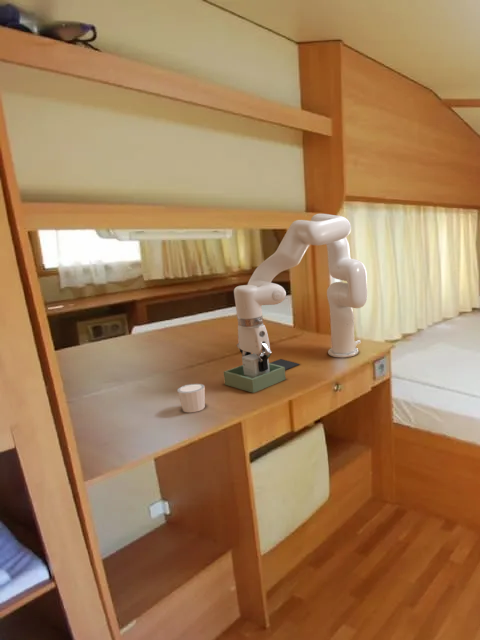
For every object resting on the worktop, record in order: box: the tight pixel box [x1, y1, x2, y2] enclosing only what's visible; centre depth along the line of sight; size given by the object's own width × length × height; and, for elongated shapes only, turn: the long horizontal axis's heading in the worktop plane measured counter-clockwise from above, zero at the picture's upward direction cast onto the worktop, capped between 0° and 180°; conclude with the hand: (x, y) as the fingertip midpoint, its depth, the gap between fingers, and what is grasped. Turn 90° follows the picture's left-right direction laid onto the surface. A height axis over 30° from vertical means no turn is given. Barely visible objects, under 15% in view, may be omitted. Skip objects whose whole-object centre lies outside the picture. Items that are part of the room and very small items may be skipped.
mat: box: [270, 358, 300, 371], centre depth 168 cm, size 10×10×1 cm
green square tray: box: [223, 362, 287, 394], centre depth 153 cm, size 14×14×5 cm
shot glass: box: [176, 383, 206, 413], centre depth 131 cm, size 7×7×7 cm
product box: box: [241, 353, 270, 378], centre depth 152 cm, size 6×6×7 cm
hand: (256, 368), depth 152 cm, fingers closed on product box, 6 cm apart
